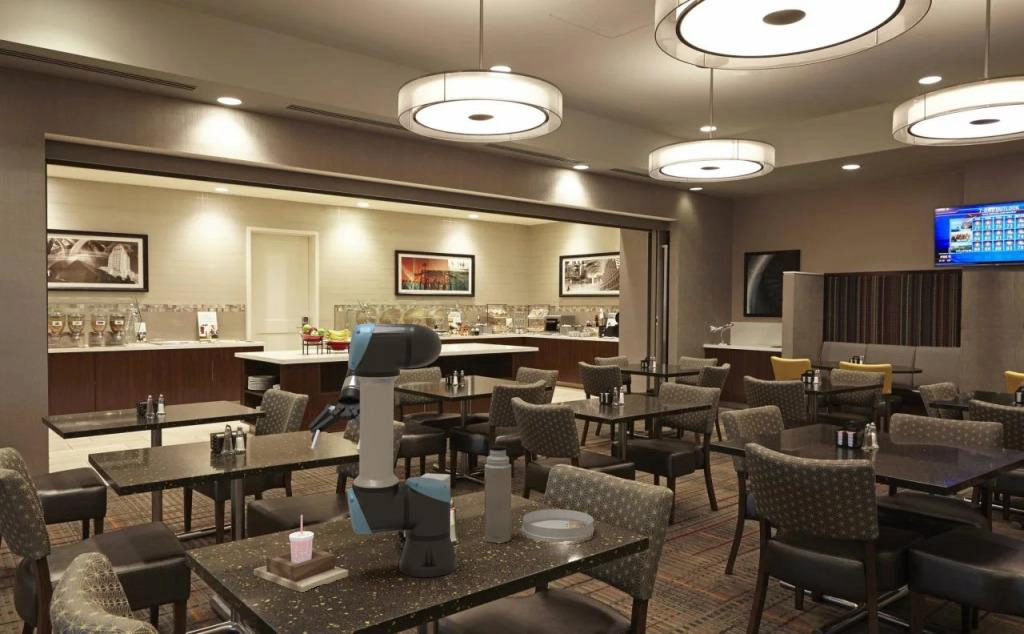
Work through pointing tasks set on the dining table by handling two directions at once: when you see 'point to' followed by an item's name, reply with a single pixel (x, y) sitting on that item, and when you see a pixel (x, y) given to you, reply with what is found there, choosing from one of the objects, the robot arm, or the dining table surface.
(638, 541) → the dining table surface
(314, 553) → the collar stand
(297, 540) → the beverage cup
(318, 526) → the dining table surface
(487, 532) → the thermos bottle
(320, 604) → the dining table surface
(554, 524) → the dish
